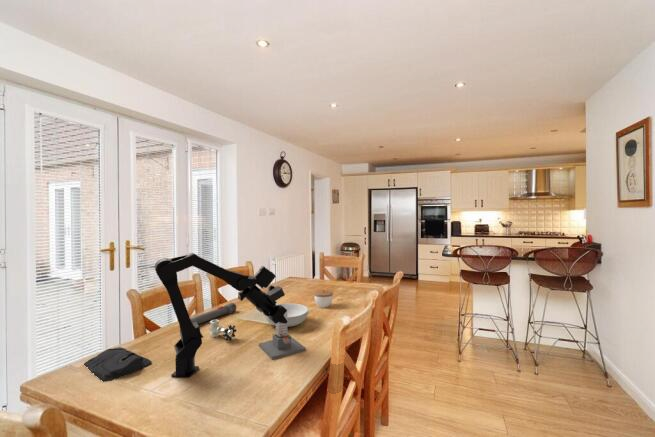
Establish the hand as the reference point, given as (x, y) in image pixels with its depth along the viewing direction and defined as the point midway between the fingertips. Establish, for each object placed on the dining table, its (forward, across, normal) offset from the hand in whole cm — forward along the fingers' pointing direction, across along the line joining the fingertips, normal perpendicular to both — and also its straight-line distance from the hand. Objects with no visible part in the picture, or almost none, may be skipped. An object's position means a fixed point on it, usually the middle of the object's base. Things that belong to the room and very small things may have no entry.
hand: (284, 321), depth 125 cm
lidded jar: (+36, +38, -22) cm, 57 cm away
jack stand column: (+3, 0, +5) cm, 6 cm away
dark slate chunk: (-32, +19, +48) cm, 60 cm away
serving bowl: (+16, +24, -1) cm, 29 cm away
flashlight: (-4, +51, +20) cm, 54 cm away
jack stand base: (+6, 0, +8) cm, 11 cm away
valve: (-6, +24, +21) cm, 32 cm away
